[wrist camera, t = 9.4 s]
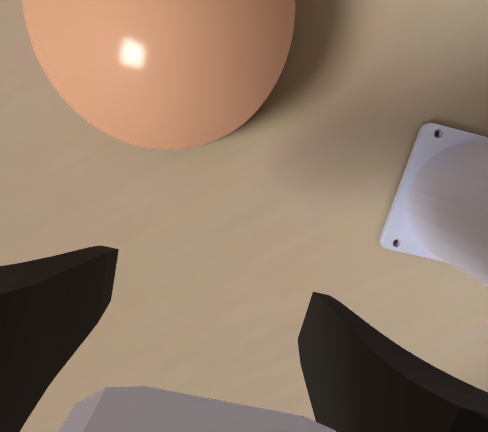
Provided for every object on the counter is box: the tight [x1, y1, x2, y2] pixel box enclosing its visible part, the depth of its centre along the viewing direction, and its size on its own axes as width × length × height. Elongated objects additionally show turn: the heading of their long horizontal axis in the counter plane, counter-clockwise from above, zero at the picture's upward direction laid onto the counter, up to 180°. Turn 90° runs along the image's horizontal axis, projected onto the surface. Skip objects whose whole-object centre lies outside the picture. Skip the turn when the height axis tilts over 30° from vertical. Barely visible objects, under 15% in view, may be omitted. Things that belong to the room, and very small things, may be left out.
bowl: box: [22, 0, 295, 150], centre depth 16 cm, size 12×12×4 cm
